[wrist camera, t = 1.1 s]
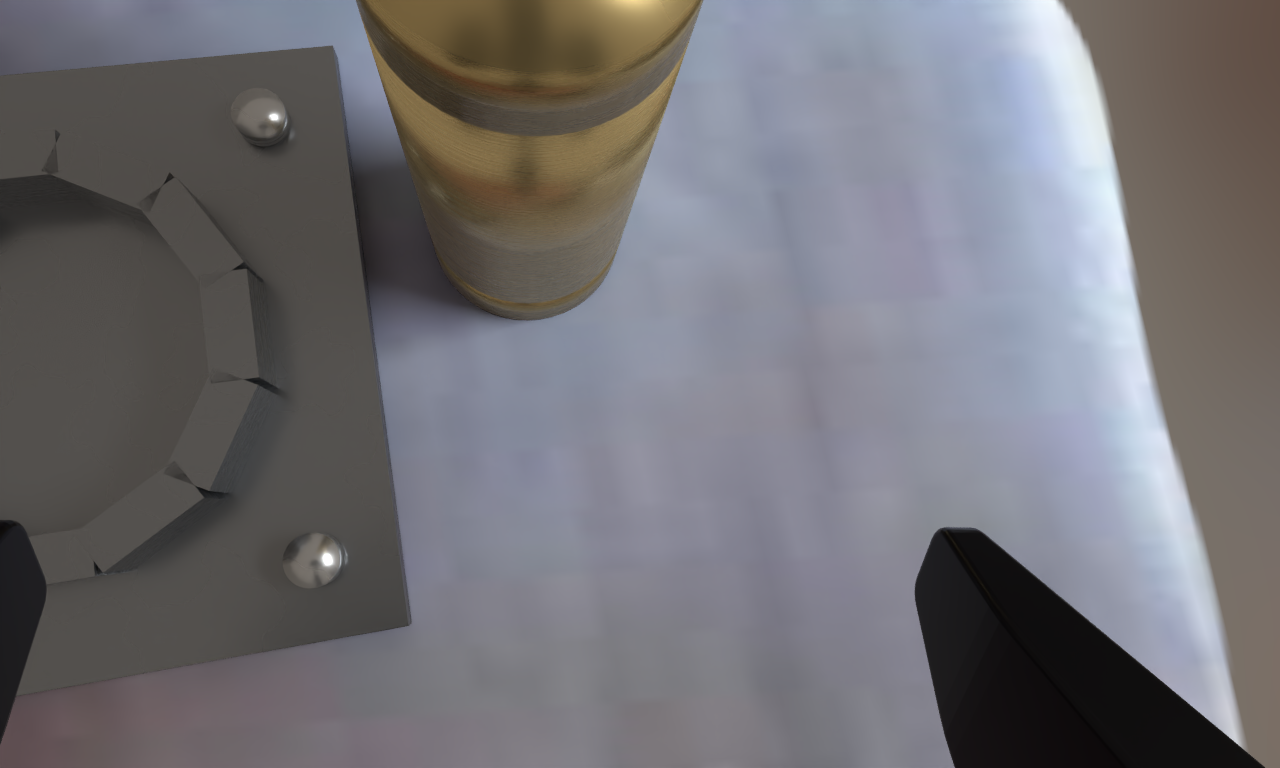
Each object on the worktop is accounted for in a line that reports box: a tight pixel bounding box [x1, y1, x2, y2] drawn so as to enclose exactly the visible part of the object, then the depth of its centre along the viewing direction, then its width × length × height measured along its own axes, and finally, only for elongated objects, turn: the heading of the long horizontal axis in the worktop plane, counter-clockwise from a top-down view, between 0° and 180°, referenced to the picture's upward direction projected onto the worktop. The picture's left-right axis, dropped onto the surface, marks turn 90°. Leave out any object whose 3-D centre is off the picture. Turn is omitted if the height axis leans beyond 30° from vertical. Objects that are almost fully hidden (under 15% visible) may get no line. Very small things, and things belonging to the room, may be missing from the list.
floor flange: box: [0, 46, 412, 696], centre depth 21 cm, size 14×14×2 cm
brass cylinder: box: [356, 0, 703, 320], centre depth 17 cm, size 5×5×13 cm
